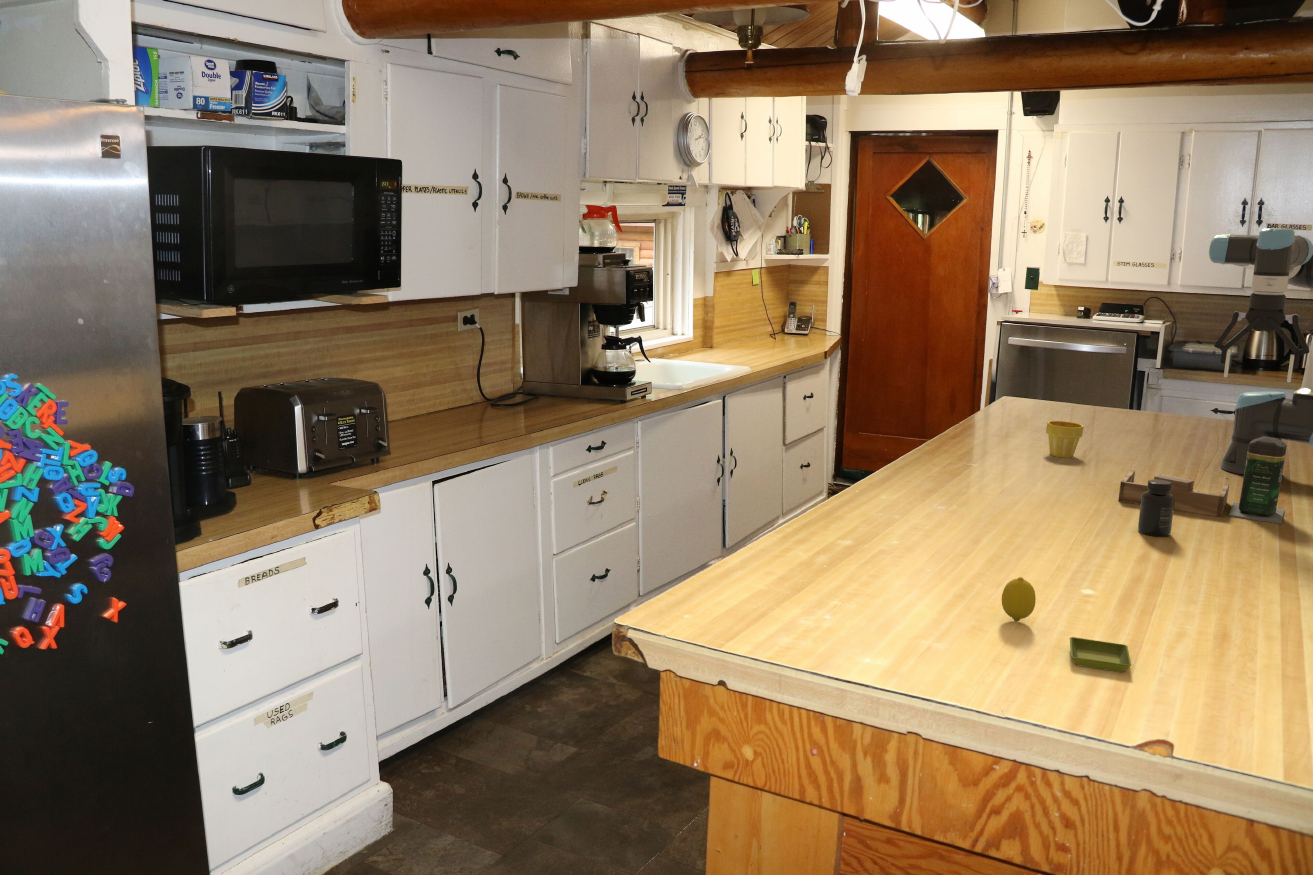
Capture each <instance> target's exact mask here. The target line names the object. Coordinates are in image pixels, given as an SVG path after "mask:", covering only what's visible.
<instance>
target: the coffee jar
mask: <svg viewBox="0 0 1313 875" xmlns="http://www.w3.org/2000/svg"><path fill="white" fill-rule="evenodd" d="M1248 445H1249V447H1248V452H1247V459H1246V465H1245V472H1244V475H1243V479H1242V485H1241V486H1242V487H1241V492H1240V498H1239V502H1238V503H1239V510H1240V511H1242V512H1246V513H1249V514H1251V515H1256V516H1259V515H1266V516H1271V515H1273V514H1274V513H1275V512H1276V509H1278V502H1279V497H1280V490H1281V486H1282V485H1281V484H1282V479H1283V472H1284V466H1285V460H1286V456H1287V454H1286V453H1287V443H1286V442H1284V440H1281V439H1279V438H1273V437H1265V436H1262V437H1260V438H1257V439H1254V440H1252V441H1251V442H1250V443H1249V444H1248Z"/></svg>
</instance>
